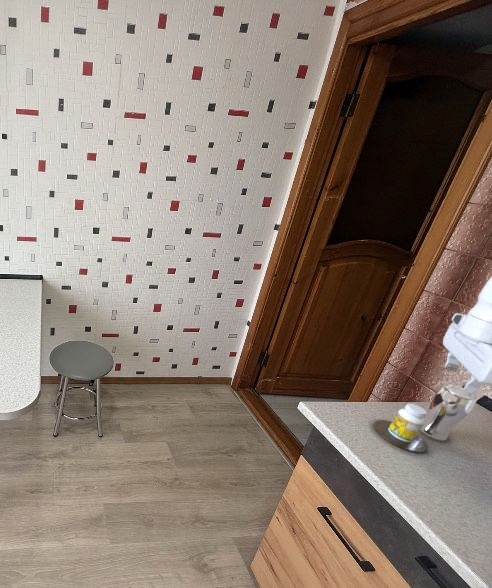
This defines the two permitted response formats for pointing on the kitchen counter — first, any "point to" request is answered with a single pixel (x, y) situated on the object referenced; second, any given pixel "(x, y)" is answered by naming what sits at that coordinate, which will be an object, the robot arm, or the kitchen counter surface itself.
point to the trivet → (413, 446)
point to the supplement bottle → (408, 422)
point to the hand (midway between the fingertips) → (457, 379)
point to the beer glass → (447, 410)
